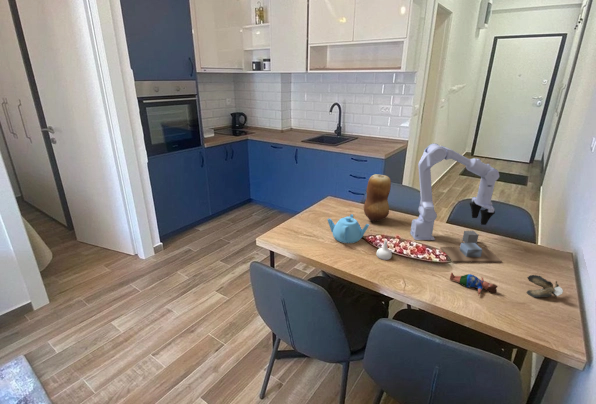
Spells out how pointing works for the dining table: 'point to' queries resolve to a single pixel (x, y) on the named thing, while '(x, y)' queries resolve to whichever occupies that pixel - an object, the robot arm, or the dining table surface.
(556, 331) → the dining table surface
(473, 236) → the gray brick
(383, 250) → the garlic bulb
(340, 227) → the teapot
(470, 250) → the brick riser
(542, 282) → the eagle figurine
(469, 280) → the toy character
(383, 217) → the butternut squash
